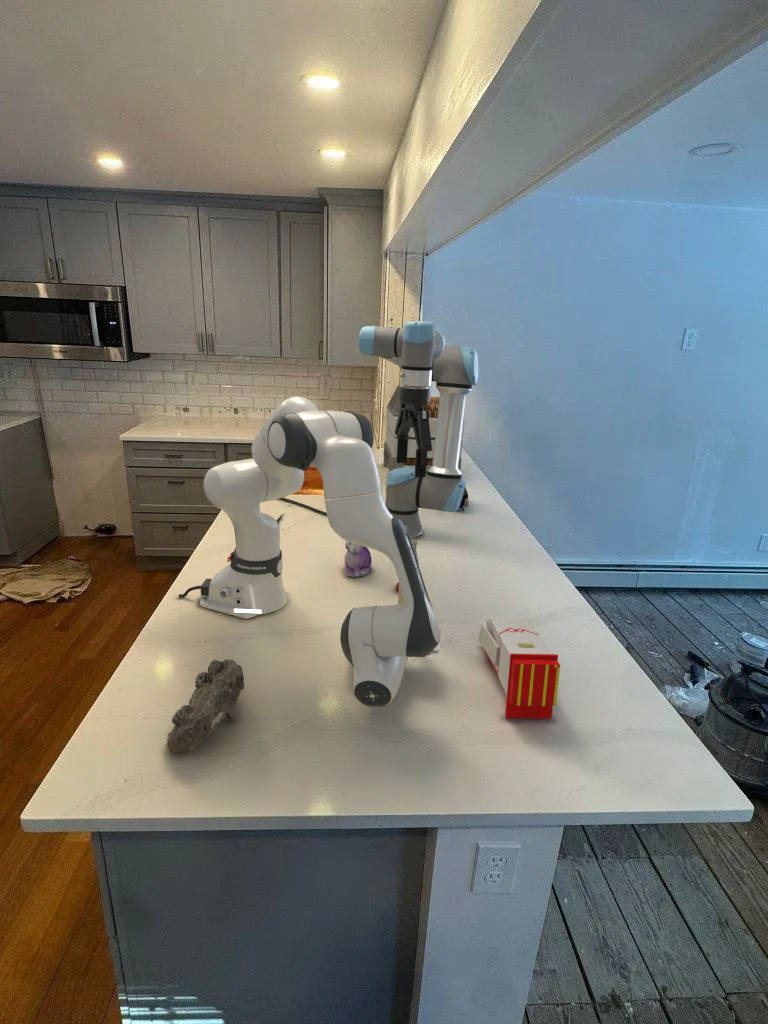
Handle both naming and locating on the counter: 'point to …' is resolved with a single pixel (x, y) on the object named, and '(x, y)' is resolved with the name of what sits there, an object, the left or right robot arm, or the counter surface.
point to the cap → (397, 587)
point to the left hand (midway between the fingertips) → (399, 615)
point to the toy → (522, 666)
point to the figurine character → (464, 500)
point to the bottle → (414, 544)
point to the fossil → (206, 705)
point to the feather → (279, 518)
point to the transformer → (392, 439)
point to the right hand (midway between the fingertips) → (410, 469)
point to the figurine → (357, 560)
